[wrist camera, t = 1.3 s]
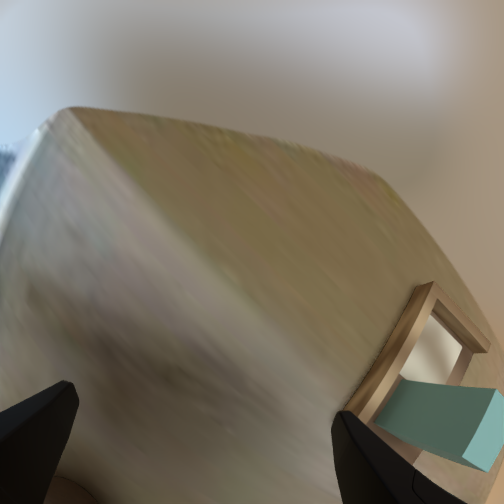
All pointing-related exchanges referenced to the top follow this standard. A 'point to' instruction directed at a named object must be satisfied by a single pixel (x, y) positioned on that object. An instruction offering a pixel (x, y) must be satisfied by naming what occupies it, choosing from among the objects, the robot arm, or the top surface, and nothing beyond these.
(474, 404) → the block
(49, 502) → the plant pot
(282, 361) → the top surface
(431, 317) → the arena
